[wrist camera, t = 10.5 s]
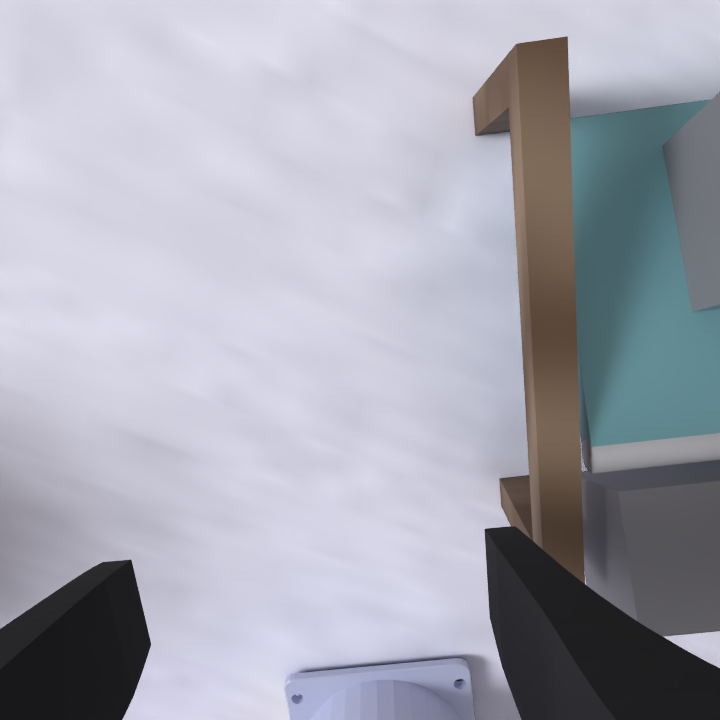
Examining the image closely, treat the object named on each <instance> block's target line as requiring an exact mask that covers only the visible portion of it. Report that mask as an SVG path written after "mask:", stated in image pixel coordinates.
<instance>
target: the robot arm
mask: <svg viewBox="0 0 720 720" xmlns="http://www.w3.org/2000/svg"><path fill="white" fill-rule="evenodd" d="M485 543H486V560H487V577H488V594H489V611H490V620H491V624H492V628H493V632H494V636H495V640H496V644H497V648H498V652H499V656H500V660H501V664H502V668H503V670H504V673H505V676H506V679H507V681H508V684H509V687H510V690H511V692H512V695H513V698H514V700H515V703H516V706H517V709H518V711H519V714H520V717H521V719H522V720H720V668H718V667H716V666H714V665H712V664H710V663H708V662H706V661H704V660H702V659H701V658H699V657H697V656H695V655H693V654H691V653H690V652H688V651H686V650H684V649H682V648H681V647H679V646H677V645H676V644H674V643H672V642H671V641H669V640H667V639H666V638H664V637H662V636H661V635H659V634H657V633H656V632H654V631H652V630H651V629H649V628H647V627H646V626H644V625H643V624H641V623H639V622H638V621H636V620H635V619H633V618H632V617H630V616H629V615H627V614H626V613H624V612H623V611H622V610H620V609H619V608H617V607H616V606H614V605H613V604H611V603H610V602H609V601H607V600H606V599H604V598H603V597H601V596H600V595H599V594H597V593H596V592H595V591H593V590H592V589H591V588H589V587H588V586H587V585H585V584H584V583H583V582H582V581H580V580H579V579H578V578H576V577H575V576H574V575H573V574H571V573H570V572H569V571H568V570H566V569H565V568H564V567H563V566H562V565H560V564H559V563H558V562H557V561H556V560H554V559H553V558H552V557H551V556H550V555H549V554H547V553H546V552H545V551H544V550H543V549H542V548H540V547H539V546H538V545H537V544H536V543H535V542H533V541H532V540H531V539H530V538H529V537H528V536H527V535H525V534H524V533H523V532H522V531H521V530H519V529H518V528H517V527H516V526H512V527H500V528H489V529H485ZM150 646H151V642H150V638H149V634H148V629H147V625H146V621H145V616H144V612H143V608H142V604H141V599H140V595H139V591H138V586H137V582H136V578H135V574H134V569H133V565H132V561H131V560H123V561H112V562H102V563H100V564H98V565H97V566H95V567H93V568H91V569H90V570H88V571H86V572H85V573H83V574H81V575H80V576H78V577H77V578H75V579H74V580H72V581H71V582H69V583H68V584H66V585H65V586H63V587H62V588H60V589H59V590H57V591H56V592H54V593H53V594H51V595H50V596H48V597H47V598H45V599H44V600H42V601H41V602H39V603H38V604H37V605H35V606H34V607H32V608H31V609H29V610H28V611H26V612H25V613H23V614H22V615H20V616H19V617H17V618H16V619H14V620H13V621H11V622H10V623H8V624H7V625H6V626H4V627H3V628H1V629H0V720H122V719H123V717H124V715H125V713H126V711H127V709H128V707H129V704H130V702H131V700H132V698H133V696H134V693H135V690H136V688H137V685H138V682H139V679H140V677H141V674H142V671H143V668H144V665H145V662H146V659H147V656H148V653H149V649H150ZM457 679H463V680H462V681H460V682H457V681H456V680H457ZM285 694H286V700H287V705H288V710H289V715H290V720H475V715H474V704H473V693H472V682H471V672H470V668H469V664H468V663H467V662H466V661H465V660H464V659H461V658H453V659H442V660H432V661H421V662H411V663H400V664H389V665H379V666H368V667H357V668H347V669H336V670H325V671H315V672H304V673H295V674H291V675H290V676H288V677H287V679H286V682H285ZM295 694H300V695H302V696H296V695H295Z"/></svg>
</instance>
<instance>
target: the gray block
mask: <svg viewBox="0 0 720 720" xmlns="http://www.w3.org/2000/svg"><path fill="white" fill-rule="evenodd" d="M662 147H663V153H664V158H665V164H666V169H667V175H668V180H669V186H670V192H671V197H672V203H673V208H674V214H675V219H676V225H677V231H678V236H679V242H680V247H681V253H682V259H683V264H684V270H685V275H686V281H687V286H688V292H689V298H690V303H691V309H692V312H696V311H704V310H711V309H719V308H720V92H719V93H718V94H717V95H716V96H715V97H714V98H713V99H712V100H711V101H710V102H709V103H708V104H707V105H706V106H704V107H703V108H702V109H701V110H700V111H699V112H698V113H697V114H696V115H695V116H694V117H693V118H692V119H691V120H689V121H688V122H687V123H686V124H685V125H684V126H683V127H682V128H681V129H680V130H679V131H678V132H677V133H675V134H674V135H673V136H672V137H671V138H670V139H669V140H668V141H667V142H666V143H665V144H664V145H663V146H662Z"/></svg>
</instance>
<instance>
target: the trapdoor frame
mask: <svg viewBox="0 0 720 720" xmlns="http://www.w3.org/2000/svg"><path fill="white" fill-rule="evenodd" d="M473 108H474V123H475V136H476V135H484V134H491V133H499V132H506V131H510V138H511V156H512V174H513V192H514V209H515V227H516V245H517V263H518V281H519V298H520V316H521V334H522V352H523V370H524V387H525V405H526V423H527V441H528V459H529V476H520V477H511V478H502V479H500V492H501V506H502V508H503V510H504V512H505V514H506V517H507V519H508V521H509V523H510V525H511V527H512V526H516V527H517V528H518V529H519V530H521V531H522V532H523V533H524V534H525V535H527V536H528V537H529V538H530V539H531V540H532V541H533V542H535V543H536V544H537V545H538V546H539V547H540V548H542V549H543V550H544V551H545V552H546V553H547V554H549V555H550V556H551V557H552V558H553V559H554V560H556V561H557V562H558V563H559V564H560V565H562V566H563V567H564V568H565V569H566V570H568V571H569V572H570V573H571V574H573V575H574V576H575V577H576V578H578V579H579V580H580V581H582V582H583V583H584V584H585V575H584V543H583V512H582V480H581V449H580V417H579V386H578V354H577V322H576V291H575V259H574V228H573V196H572V165H571V133H570V101H569V70H568V38H567V37H561V38H554V39H547V40H540V41H533V42H526V43H519V44H516V45H515V46H514V47H513V49H512V50H511V51H510V52H509V54H508V55H507V56H506V57H505V58H504V60H503V61H502V62H501V63H500V65H499V66H498V67H497V68H496V70H495V71H494V72H493V73H492V75H491V76H490V77H489V78H488V79H487V81H486V82H485V83H484V84H483V86H482V87H481V88H480V89H479V91H478V92H477V93H476V94H475V96H474V97H473Z"/></svg>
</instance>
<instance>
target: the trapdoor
mask: <svg viewBox="0 0 720 720" xmlns="http://www.w3.org/2000/svg"><path fill="white" fill-rule="evenodd" d="M710 101H711V100H704V101H697V102H690V103H682V104H675V105H667V106H660V107H653V108H645V109H638V110H631V111H623V112H616V113H608V114H601V115H594V116H586V117H579V118H572V119H570V133H571V165H572V196H573V228H574V259H575V291H576V322H577V354H578V386H579V417H580V435H581V442H582V456H583V461H584V464H585V466H586V468H587V470H588V471H584V472H581V480H582V512H583V543H584V570H585V577H586V584H587V586H588V587H589V588H591V589H592V590H593V591H595V592H596V593H597V594H599V595H600V596H601V597H603V598H604V599H606V600H607V601H609V602H610V603H611V604H613V605H614V606H616V607H617V608H619V609H620V610H622V611H623V612H624V613H626V614H627V615H629V616H630V617H632V618H633V619H635V620H636V621H638V622H639V623H641V624H643V625H644V626H646V627H647V628H649V629H651V630H652V631H654V632H656V633H657V634H659V635H661V636H673V635H683V634H694V633H705V632H715V631H720V308H719V309H711V310H704V311H696V312H692V309H691V303H690V298H689V292H688V286H687V281H686V275H685V270H684V264H683V259H682V253H681V247H680V242H679V236H678V231H677V225H676V219H675V214H674V208H673V203H672V197H671V192H670V186H669V180H668V175H667V169H666V164H665V158H664V153H663V147H662V146H663V145H664V144H665V143H666V142H667V141H668V140H669V139H670V138H671V137H672V136H673V135H674V134H675V133H677V132H678V131H679V130H680V129H681V128H682V127H683V126H684V125H685V124H686V123H687V122H688V121H689V120H691V119H692V118H693V117H694V116H695V115H696V114H697V113H698V112H699V111H700V110H701V109H702V108H703V107H704V106H706V105H707V104H708V103H709V102H710Z"/></svg>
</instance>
